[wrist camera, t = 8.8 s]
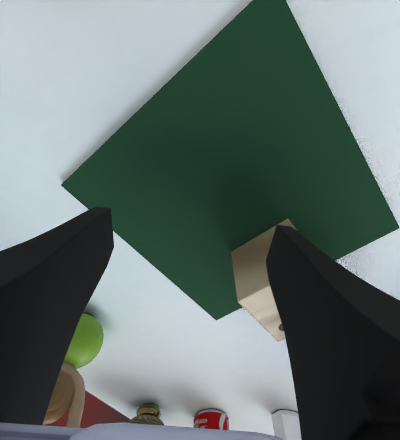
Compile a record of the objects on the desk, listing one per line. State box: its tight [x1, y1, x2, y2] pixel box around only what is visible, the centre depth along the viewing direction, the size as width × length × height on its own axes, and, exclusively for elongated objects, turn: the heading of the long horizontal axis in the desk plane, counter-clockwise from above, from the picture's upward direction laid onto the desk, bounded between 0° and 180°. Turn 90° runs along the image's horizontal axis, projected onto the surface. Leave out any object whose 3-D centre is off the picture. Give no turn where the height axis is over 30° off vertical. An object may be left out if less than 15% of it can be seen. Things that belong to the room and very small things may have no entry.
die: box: [231, 219, 296, 341], centre depth 22 cm, size 6×6×6 cm
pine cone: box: [129, 404, 165, 426], centre depth 37 cm, size 8×7×8 cm
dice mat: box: [61, 0, 399, 320], centre depth 22 cm, size 21×20×1 cm
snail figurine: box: [43, 313, 103, 428], centre depth 25 cm, size 5×6×12 cm
